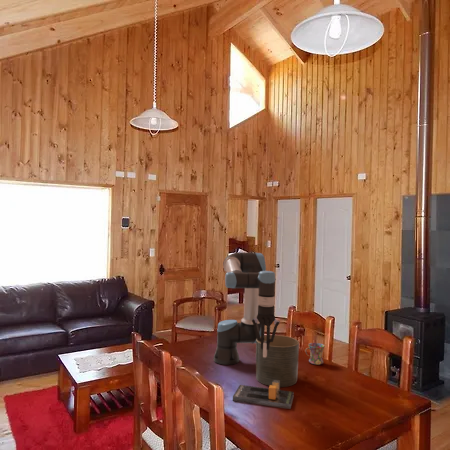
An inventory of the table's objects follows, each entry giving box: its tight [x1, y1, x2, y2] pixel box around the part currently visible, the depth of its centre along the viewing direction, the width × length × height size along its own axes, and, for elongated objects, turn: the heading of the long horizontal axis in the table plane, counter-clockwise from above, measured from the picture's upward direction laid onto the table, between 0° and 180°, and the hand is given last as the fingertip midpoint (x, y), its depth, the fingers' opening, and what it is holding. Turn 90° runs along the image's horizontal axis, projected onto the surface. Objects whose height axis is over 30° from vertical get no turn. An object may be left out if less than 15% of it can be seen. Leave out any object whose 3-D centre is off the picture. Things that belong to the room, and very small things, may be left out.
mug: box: [304, 342, 325, 366], centre depth 232 cm, size 12×9×11 cm
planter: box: [255, 334, 300, 388], centre depth 206 cm, size 22×22×20 cm
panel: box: [232, 380, 295, 410], centre depth 182 cm, size 26×14×7 cm, turn 74°
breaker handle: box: [268, 385, 276, 400], centre depth 177 cm, size 3×3×5 cm
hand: (264, 356), depth 181 cm, fingers closed
